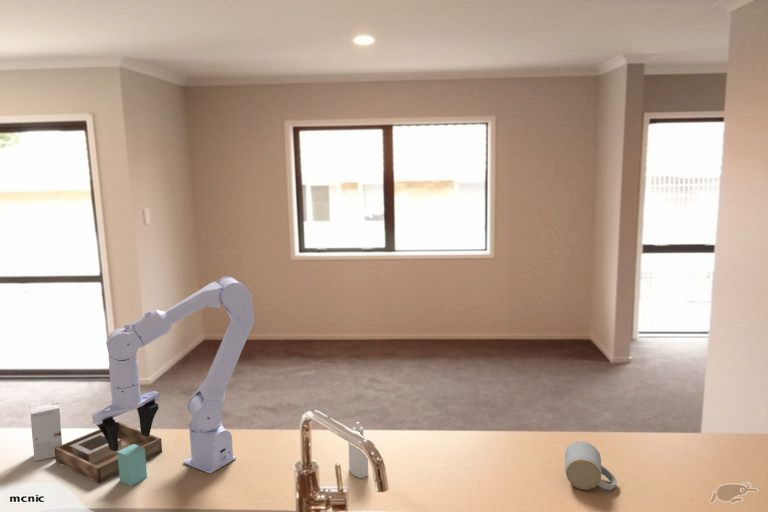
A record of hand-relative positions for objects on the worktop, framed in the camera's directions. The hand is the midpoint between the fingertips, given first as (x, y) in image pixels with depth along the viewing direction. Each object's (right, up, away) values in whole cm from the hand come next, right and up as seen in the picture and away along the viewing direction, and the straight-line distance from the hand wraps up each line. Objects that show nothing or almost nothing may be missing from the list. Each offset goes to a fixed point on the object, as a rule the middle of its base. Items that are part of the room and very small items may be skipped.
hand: (130, 442), depth 119 cm
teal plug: (0, -9, +1) cm, 9 cm away
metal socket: (-13, -8, +10) cm, 18 cm away
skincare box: (-26, -8, +13) cm, 30 cm away
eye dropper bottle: (+51, -8, +3) cm, 51 cm away
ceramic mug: (+101, -8, -2) cm, 102 cm away
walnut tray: (-10, -7, +11) cm, 17 cm away
